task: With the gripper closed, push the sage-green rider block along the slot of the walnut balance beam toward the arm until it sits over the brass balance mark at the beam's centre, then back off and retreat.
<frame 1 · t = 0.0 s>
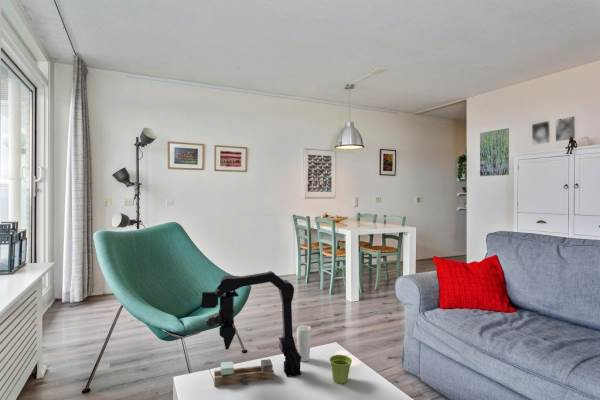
hand: (226, 344, 147), 15 cm above the table, fingers open, 9 cm apart
rider: (227, 370, 146), point 5 cm above the table, slide at 7.0 cm
drinking glass: (303, 360, 167), on the table
plant pot: (340, 380, 148), on the table
beam: (244, 379, 148), on the table
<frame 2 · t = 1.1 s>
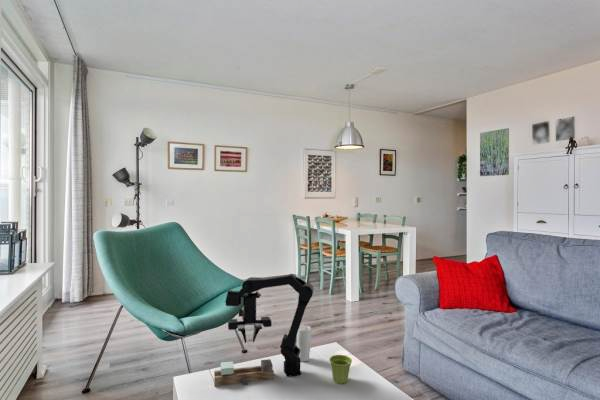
hand: (249, 342, 157), 12 cm above the table, fingers open, 3 cm apart
nothing on the table moved.
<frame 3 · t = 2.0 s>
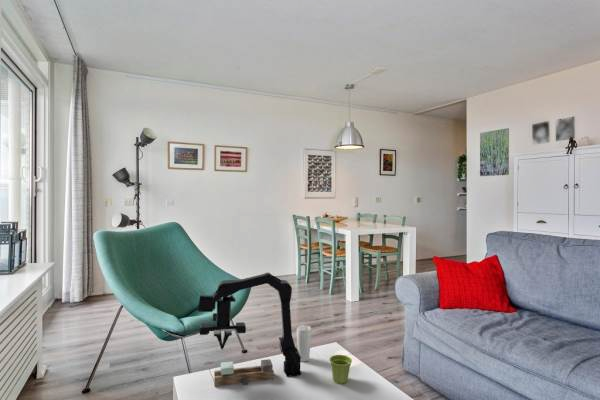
hand: (222, 348, 149), 12 cm above the table, fingers closed
nothing on the table moved.
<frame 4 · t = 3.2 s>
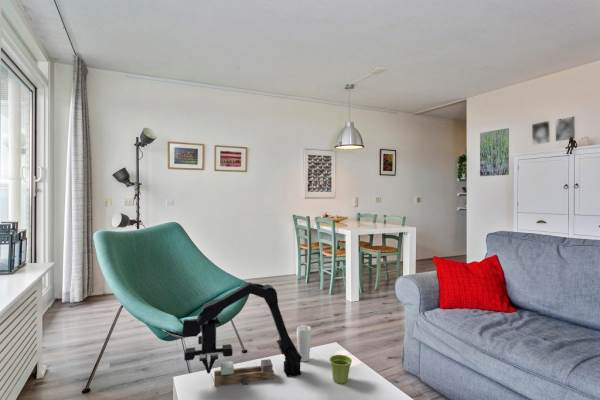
hand: (208, 373, 145), 4 cm above the table, fingers closed
nothing on the table moved.
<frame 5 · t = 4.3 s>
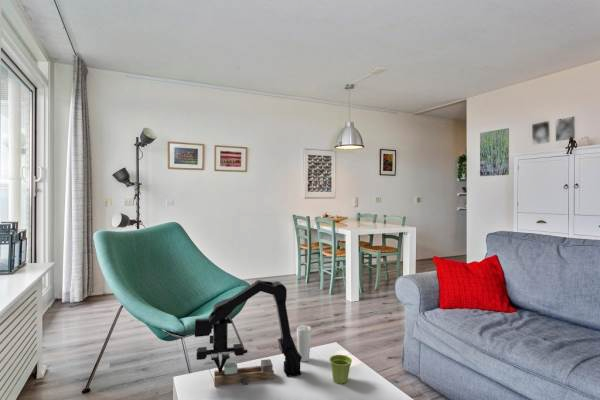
hand: (220, 372, 146), 4 cm above the table, fingers closed
rider: (230, 370, 147), point 4 cm above the table, slide at 5.6 cm, touching gripper
everything else where it was.
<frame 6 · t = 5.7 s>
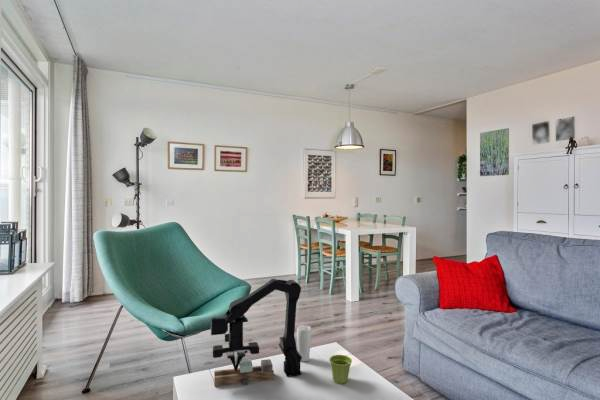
hand: (235, 370, 147), 4 cm above the table, fingers closed
rider: (245, 368, 148), point 5 cm above the table, slide at -0.7 cm, touching gripper
everything else where it was.
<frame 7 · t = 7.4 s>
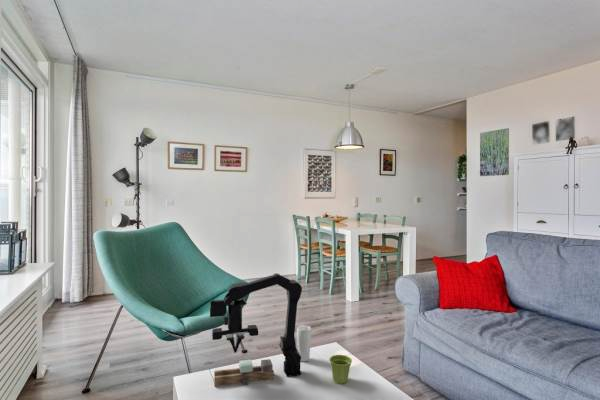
hand: (235, 352, 149), 11 cm above the table, fingers closed
rider: (245, 368, 148), point 5 cm above the table, slide at -0.7 cm
everything else where it was.
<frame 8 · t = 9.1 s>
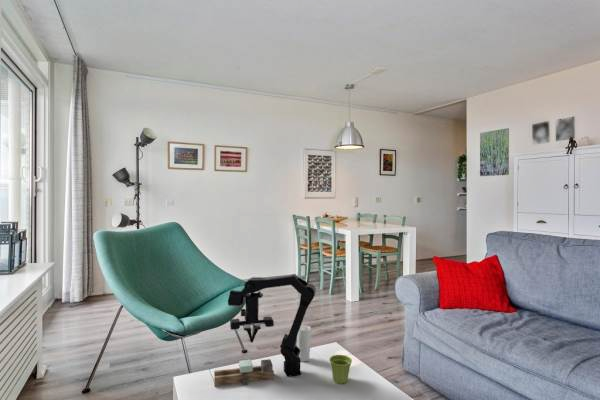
hand: (251, 342, 157), 12 cm above the table, fingers closed
nothing on the table moved.
at the end: rider slide at -0.7 cm; rider 0.7 cm off-centre on the beam, point 4.5 cm above the beam's base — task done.
